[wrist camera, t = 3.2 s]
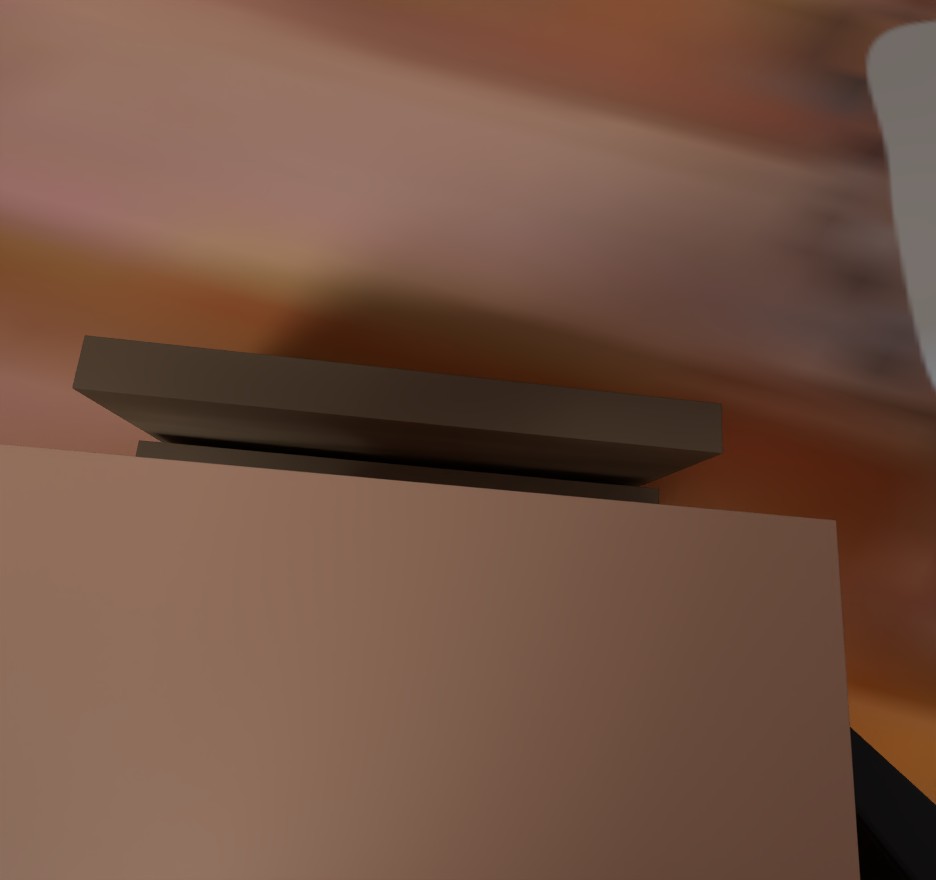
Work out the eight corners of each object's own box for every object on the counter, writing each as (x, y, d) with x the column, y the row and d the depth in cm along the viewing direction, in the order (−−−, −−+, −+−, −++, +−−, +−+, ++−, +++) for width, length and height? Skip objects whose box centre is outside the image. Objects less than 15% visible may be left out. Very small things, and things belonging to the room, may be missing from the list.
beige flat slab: (509, 667, 15) (862, 931, 4) (265, 651, 15) (-217, 906, 3) (515, 565, 16) (836, 521, 4) (280, 547, 15) (-80, 438, 4)
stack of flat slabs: (610, 802, 16) (734, 930, 10) (125, 781, 15) (-51, 910, 9) (616, 461, 18) (720, 403, 12) (192, 420, 17) (85, 335, 11)
